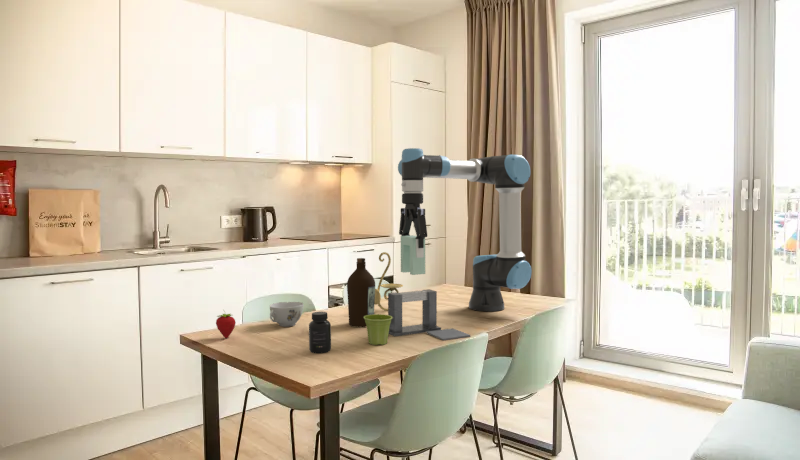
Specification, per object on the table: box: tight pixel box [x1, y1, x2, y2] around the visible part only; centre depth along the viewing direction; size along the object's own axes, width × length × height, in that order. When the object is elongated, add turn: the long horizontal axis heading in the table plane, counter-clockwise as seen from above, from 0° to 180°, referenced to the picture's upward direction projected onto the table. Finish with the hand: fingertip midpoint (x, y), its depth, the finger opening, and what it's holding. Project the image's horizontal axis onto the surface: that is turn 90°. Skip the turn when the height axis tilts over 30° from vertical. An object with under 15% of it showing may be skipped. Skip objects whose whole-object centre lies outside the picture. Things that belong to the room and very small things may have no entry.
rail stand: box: [387, 289, 442, 337], centre depth 200 cm, size 19×8×14 cm, turn 118°
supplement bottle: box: [308, 311, 332, 355], centre depth 175 cm, size 7×7×12 cm
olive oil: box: [346, 257, 376, 328], centre depth 210 cm, size 11×11×25 cm
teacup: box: [269, 301, 304, 328], centre depth 209 cm, size 15×12×8 cm
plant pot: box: [364, 313, 392, 346], centre depth 184 cm, size 9×9×9 cm
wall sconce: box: [374, 251, 404, 312], centre depth 236 cm, size 14×10×25 cm
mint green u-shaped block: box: [400, 234, 426, 276], centre depth 199 cm, size 5×9×13 cm, turn 28°
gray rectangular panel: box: [425, 327, 471, 341], centre depth 195 cm, size 11×11×1 cm
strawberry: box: [215, 310, 236, 339], centre depth 191 cm, size 6×8×10 cm
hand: (412, 256), depth 199 cm, fingers closed on mint green u-shaped block, 9 cm apart
